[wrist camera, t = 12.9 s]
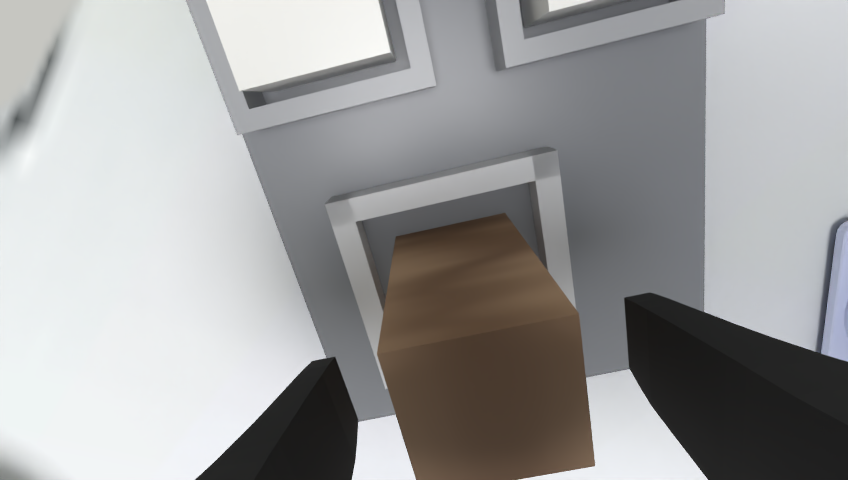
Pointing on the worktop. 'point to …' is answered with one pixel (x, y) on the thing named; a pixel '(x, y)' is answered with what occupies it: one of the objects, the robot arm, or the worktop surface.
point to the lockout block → (483, 356)
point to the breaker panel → (471, 148)
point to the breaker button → (559, 9)
